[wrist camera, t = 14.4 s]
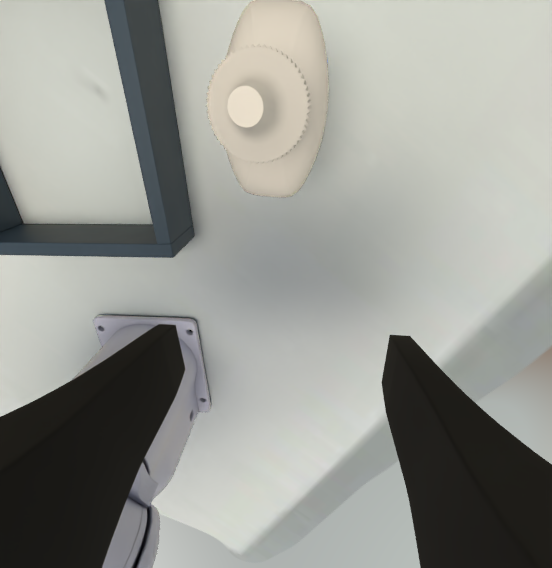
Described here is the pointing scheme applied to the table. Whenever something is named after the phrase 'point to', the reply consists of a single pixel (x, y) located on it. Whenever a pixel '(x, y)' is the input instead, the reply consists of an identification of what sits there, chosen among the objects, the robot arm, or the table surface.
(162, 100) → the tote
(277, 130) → the eye dropper bottle
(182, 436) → the robot arm
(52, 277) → the table surface
